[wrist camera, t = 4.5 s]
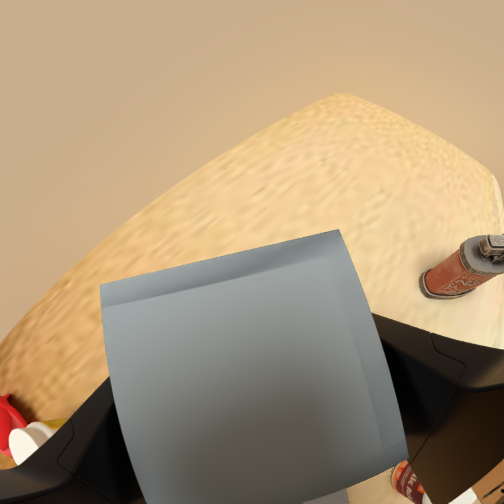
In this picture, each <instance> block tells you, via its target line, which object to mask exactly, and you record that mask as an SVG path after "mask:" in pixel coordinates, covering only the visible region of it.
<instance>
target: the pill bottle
mask: <svg viewBox="0 0 504 504" xmlns="http://www.w3.org/2000/svg"><path fill="white" fill-rule="evenodd" d="M391 483H392V486H393V488H394V489H395V490H396V491H398V492H399V493H401V494H402V495H403V496H405V497H407V498H408V499H409V500H411V501H412V502H414V503H415V504H432V503H431V501H430V499H429V498H428V496H427V494H426V493H425V491H424V489H423V487H422V486H421V484H420V482H419V481H418V479H417V477H416V476H415V474H414V472H413V471H412V469H411V467H410V465H409V464H408V462H407V460H405V461H403V462H401V463H399V464H397V466H396V467H395V469H394V471H393V474H392V478H391ZM476 498H477V496H476V494H475V493H474V492H473V490H472V489H471V488H469V489H468V490H467V491H466V492H464V493H463V494H461V495H460V496H459V497H457V498H456V499H454V500H453V501H452V502H450V503H449V504H472V503H473V502H474V501H475V499H476Z"/></svg>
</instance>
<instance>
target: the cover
mask: <svg viewBox="0 0 504 504" xmlns="http://www.w3.org/2000/svg"><path fill="white" fill-rule="evenodd" d="M100 295H101V310H102V322H103V332H104V341H105V349H106V356H107V363H108V369H109V375H110V381H111V386H112V391H113V396H114V401H115V405H116V410H117V414H118V418H119V422H120V426H121V430H122V433H123V437H124V441H125V444H126V447H127V451H128V454H129V457H130V460H131V463H132V466H133V469H134V472H135V475H136V477H137V480H138V483H139V485H140V488H141V491H142V493H143V496H144V498H145V500H146V503H147V504H300V503H303V502H307V501H310V500H314V499H317V498H320V497H323V496H326V495H329V494H332V493H334V492H337V491H340V490H343V489H345V488H348V487H350V486H353V485H355V484H357V483H360V482H362V481H364V480H367V479H369V478H371V477H373V476H375V475H378V474H380V473H382V472H384V471H386V470H388V469H390V468H392V467H394V466H395V465H397V464H399V463H401V462H403V461H405V460H406V459H408V458H409V455H408V450H407V444H406V439H405V434H404V429H403V424H402V420H401V415H400V411H399V407H398V402H397V398H396V394H395V390H394V387H393V383H392V379H391V375H390V372H389V368H388V365H387V361H386V358H385V354H384V351H383V348H382V344H381V341H380V338H379V335H378V332H377V329H376V326H375V323H374V320H373V317H372V314H371V311H370V308H369V305H368V302H367V299H366V297H365V294H364V291H363V288H362V286H361V283H360V280H359V278H358V275H357V273H356V270H355V267H354V265H353V262H352V260H351V257H350V255H349V252H348V250H347V247H346V245H345V243H344V240H343V238H342V236H341V233H340V231H339V229H337V230H333V231H329V232H324V233H320V234H316V235H311V236H307V237H303V238H298V239H294V240H290V241H285V242H281V243H277V244H272V245H268V246H264V247H259V248H255V249H251V250H246V251H242V252H238V253H233V254H229V255H225V256H220V257H216V258H212V259H208V260H203V261H199V262H195V263H190V264H186V265H182V266H178V267H173V268H169V269H165V270H160V271H156V272H152V273H148V274H143V275H139V276H135V277H131V278H126V279H122V280H118V281H114V282H109V283H105V284H101V285H100Z"/></svg>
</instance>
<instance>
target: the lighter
mask: <svg viewBox="0 0 504 504" xmlns="http://www.w3.org/2000/svg"><path fill="white" fill-rule="evenodd" d="M503 273H504V234H502V235H490V234H489V235H482V236H476V237H472V238H469V239H467V240H466V241H465V242H463V243H462V244H461V245H460V248H459V249H458V250H457V251H456V252H455V253H453V254H452V255H451V256H449V257H448V258H447V259H445V260H444V261H443V262H441V263H440V264H439V265H437V266H436V267H435V268H432V269H429V270H427V271H426V272H424V273H423V274H421V276H420V278H419V287H420V290H421V292H422V294H423V295H424V296H425V297H427V298H431V299H439V300H446V299H454V298H458V297H462V296H464V295H466V294H468V293H470V292H472V291H474V290H475V289H476V287H477V286H479V285H481V284H483V283H485V282H486V281H488V280H490V279H491V278H493V277H495V276H496V275H499V274H503Z"/></svg>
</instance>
